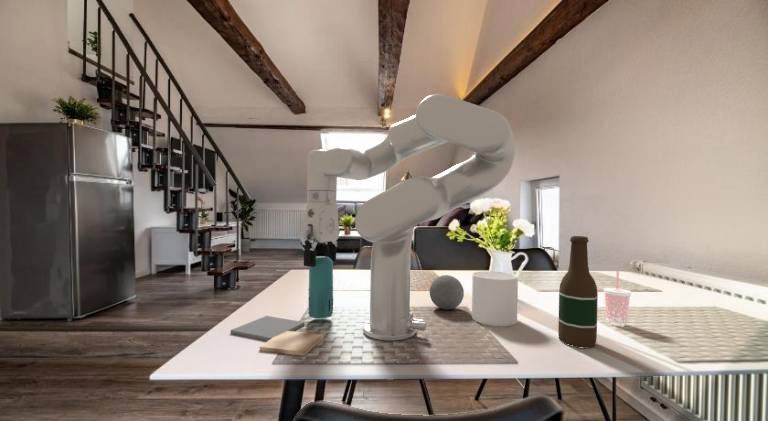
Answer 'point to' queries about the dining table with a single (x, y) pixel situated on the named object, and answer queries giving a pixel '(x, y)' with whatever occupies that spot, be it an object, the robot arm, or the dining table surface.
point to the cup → (494, 298)
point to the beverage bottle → (321, 285)
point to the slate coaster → (267, 328)
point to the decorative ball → (446, 292)
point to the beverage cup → (617, 303)
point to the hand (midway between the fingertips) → (320, 263)
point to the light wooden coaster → (292, 343)
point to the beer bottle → (578, 299)
